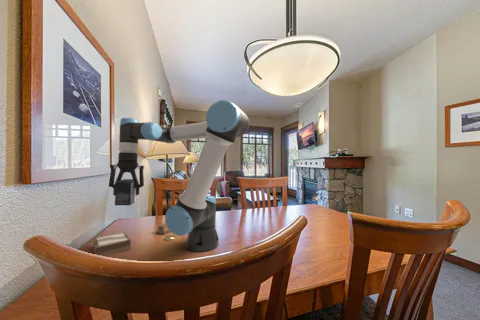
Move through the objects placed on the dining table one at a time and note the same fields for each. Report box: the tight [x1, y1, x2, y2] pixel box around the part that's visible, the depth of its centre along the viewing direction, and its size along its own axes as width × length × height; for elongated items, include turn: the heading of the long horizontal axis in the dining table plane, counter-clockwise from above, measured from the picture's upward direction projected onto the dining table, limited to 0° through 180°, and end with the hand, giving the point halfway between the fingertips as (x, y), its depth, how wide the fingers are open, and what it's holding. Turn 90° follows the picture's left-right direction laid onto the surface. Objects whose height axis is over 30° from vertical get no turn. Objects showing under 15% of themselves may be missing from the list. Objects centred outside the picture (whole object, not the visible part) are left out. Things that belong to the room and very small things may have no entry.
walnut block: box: [157, 222, 172, 236], centre depth 103 cm, size 5×5×4 cm
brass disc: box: [164, 234, 177, 242], centre depth 95 cm, size 5×5×1 cm
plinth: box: [92, 232, 132, 257], centre depth 83 cm, size 12×12×4 cm
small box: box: [114, 178, 139, 206], centre depth 87 cm, size 11×6×10 cm, turn 15°
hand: (126, 202), depth 87 cm, fingers closed on small box, 6 cm apart
